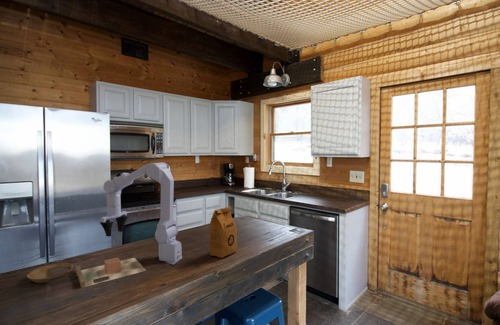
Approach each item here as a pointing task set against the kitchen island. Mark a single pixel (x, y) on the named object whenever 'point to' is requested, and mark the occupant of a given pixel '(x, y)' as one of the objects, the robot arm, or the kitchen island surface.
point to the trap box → (98, 272)
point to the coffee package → (222, 233)
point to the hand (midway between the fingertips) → (114, 233)
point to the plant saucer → (46, 273)
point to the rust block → (112, 265)
